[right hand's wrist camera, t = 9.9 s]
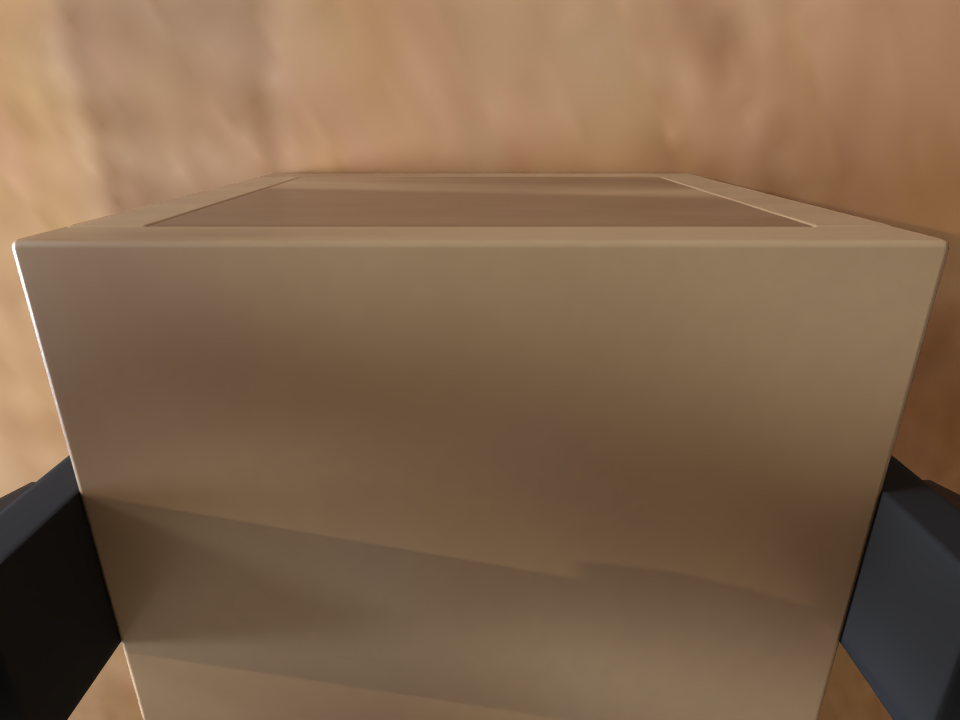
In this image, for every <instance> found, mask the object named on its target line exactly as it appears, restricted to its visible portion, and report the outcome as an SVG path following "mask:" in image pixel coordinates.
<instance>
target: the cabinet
mask: <svg viewBox="0 0 960 720" xmlns="http://www.w3.org/2000/svg"><path fill="white" fill-rule="evenodd" d="M12 250H13V254H14V258H15V261H16V265H17V268H18V272H19V276H20V279H21V283H22V286H23V290H24V293H25V297H26V301H27V304H28V308H29V311H30V315H31V319H32V322H33V326H34V329H35V333H36V337H37V340H38V344H39V347H40V351H41V354H42V358H43V362H44V365H45V369H46V372H47V376H48V380H49V383H50V387H51V390H52V394H53V398H54V401H55V405H56V408H57V412H58V415H59V419H60V423H61V426H62V430H63V433H64V437H65V441H66V444H67V448H68V451H69V455H70V459H71V462H72V466H73V469H74V473H75V476H76V480H77V484H78V487H79V491H80V494H81V498H82V502H83V505H84V509H85V512H86V516H87V520H88V523H89V527H90V530H91V534H92V537H93V541H94V545H95V548H96V552H97V555H98V559H99V563H100V566H101V570H102V573H103V577H104V581H105V584H106V588H107V591H108V595H109V598H110V602H111V606H112V609H113V613H114V616H115V620H116V624H117V627H118V631H119V634H120V638H121V642H122V645H123V649H124V652H125V656H126V659H127V663H128V667H129V670H130V674H131V677H132V681H133V685H134V688H135V692H136V695H137V699H138V703H139V706H140V710H141V713H142V717H143V720H817V719H818V716H819V712H820V708H821V705H822V701H823V698H824V694H825V691H826V687H827V683H828V680H829V676H830V673H831V669H832V665H833V662H834V658H835V655H836V651H837V648H838V644H839V640H840V637H841V633H842V630H843V626H844V623H845V619H846V615H847V612H848V608H849V605H850V601H851V597H852V594H853V590H854V587H855V583H856V580H857V576H858V572H859V569H860V565H861V562H862V558H863V554H864V551H865V547H866V544H867V540H868V537H869V533H870V529H871V526H872V522H873V519H874V515H875V512H876V508H877V504H878V501H879V497H880V494H881V490H882V486H883V483H884V479H885V476H886V472H887V469H888V465H889V461H890V458H891V454H892V451H893V447H894V443H895V440H896V436H897V433H898V429H899V426H900V422H901V418H902V415H903V411H904V408H905V404H906V401H907V397H908V393H909V390H910V386H911V383H912V379H913V375H914V372H915V368H916V365H917V361H918V358H919V354H920V350H921V347H922V343H923V340H924V336H925V332H926V329H927V325H928V322H929V318H930V315H931V311H932V307H933V304H934V300H935V297H936V293H937V290H938V286H939V282H940V279H941V275H942V272H943V268H944V264H945V261H946V257H947V254H948V250H949V243H948V242H947V241H945V240H943V239H940V238H936V237H932V236H928V235H924V234H920V233H916V232H912V231H909V230H905V229H901V228H897V227H893V226H891V225H888V224H884V223H880V222H876V221H872V220H868V219H864V218H860V217H856V216H853V215H849V214H845V213H841V212H837V211H833V210H829V209H825V208H821V207H817V206H813V205H809V204H805V203H802V202H798V201H794V200H790V199H786V198H782V197H778V196H774V195H770V194H766V193H762V192H758V191H754V190H751V189H747V188H743V187H739V186H735V185H731V184H727V183H723V182H719V181H715V180H711V179H707V178H703V177H700V176H696V175H692V174H688V173H272V174H268V175H264V176H260V177H257V178H253V179H250V180H246V181H242V182H238V183H234V184H230V185H226V186H222V187H218V188H214V189H210V190H207V191H203V192H199V193H195V194H191V195H187V196H183V197H179V198H175V199H171V200H167V201H164V202H160V203H156V204H152V205H148V206H144V207H140V208H136V209H132V210H128V211H124V212H121V213H117V214H113V215H109V216H105V217H101V218H97V219H93V220H89V221H85V222H81V223H78V224H74V225H71V226H69V227H64V228H60V229H56V230H52V231H48V232H45V233H41V234H37V235H33V236H29V237H25V238H21V239H18V240H16V241H14V242H13V243H12Z"/></svg>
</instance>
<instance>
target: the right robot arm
mask: <svg viewBox="0 0 960 720" xmlns="http://www.w3.org/2000/svg"><path fill="white" fill-rule="evenodd" d="M839 641H840V643H841V644H842V646H843V647H844V649H845V650H846V651H847V653H848V654H849V656H850V657H851V659H852V660H853V662H854V663H855V665H856V666H857V667H858V669H859V670H860V672H861V673H862V675H863V676H864V678H865V679H866V680H867V682H868V683H869V685H870V686H871V688H872V689H873V691H874V692H875V693H876V695H877V696H878V698H879V699H880V701H881V702H882V704H883V705H884V707H885V708H886V709H887V711H888V712H889V714H890V715H891V717H892V718H893V720H960V495H958V494H956V493H954V492H952V491H950V490H948V489H946V488H944V487H942V486H940V485H938V484H936V483H935V482H933V481H931V480H921V479H920V478H919V477H918V476H916V475H915V474H914V473H913V472H911V471H910V470H909V469H908V468H907V467H905V466H904V465H903V464H902V463H900V462H899V461H898V460H897V459H895V458H894V457H893V456H892V455H891V458H890V461H889V465H888V469H887V472H886V476H885V479H884V483H883V486H882V490H881V494H880V497H879V501H878V504H877V508H876V512H875V515H874V519H873V522H872V526H871V529H870V533H869V537H868V540H867V544H866V547H865V551H864V554H863V558H862V562H861V565H860V569H859V572H858V576H857V580H856V583H855V587H854V590H853V594H852V597H851V601H850V605H849V608H848V612H847V615H846V619H845V623H844V626H843V630H842V633H841V637H840V640H839ZM120 642H121V638H120V634H119V631H118V627H117V624H116V620H115V616H114V613H113V609H112V606H111V602H110V598H109V595H108V591H107V588H106V584H105V581H104V577H103V573H102V570H101V566H100V563H99V559H98V555H97V552H96V548H95V545H94V541H93V537H92V534H91V530H90V527H89V523H88V520H87V516H86V512H85V509H84V505H83V502H82V498H81V494H80V491H79V487H78V484H77V480H76V476H75V473H74V469H73V466H72V462H71V459H70V455H69V456H68V457H66V458H65V459H64V460H63V461H62V462H60V463H59V464H58V465H57V466H55V467H54V468H53V469H52V470H50V471H49V472H48V473H47V474H46V475H44V476H43V477H42V478H41V479H39V480H38V481H37V482H31V483H29V484H27V485H25V486H23V487H21V488H19V489H17V490H15V491H13V492H11V493H9V494H7V495H5V496H3V497H1V498H0V720H67V719H68V718H69V716H70V715H71V713H72V712H73V710H74V709H75V708H76V706H77V705H78V703H79V702H80V700H81V699H82V697H83V696H84V694H85V693H86V692H87V690H88V689H89V687H90V686H91V684H92V683H93V681H94V680H95V679H96V677H97V676H98V674H99V673H100V671H101V670H102V668H103V667H104V665H105V664H106V663H107V661H108V660H109V658H110V657H111V655H112V654H113V652H114V651H115V650H116V648H117V647H118V645H119V644H120Z"/></svg>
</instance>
